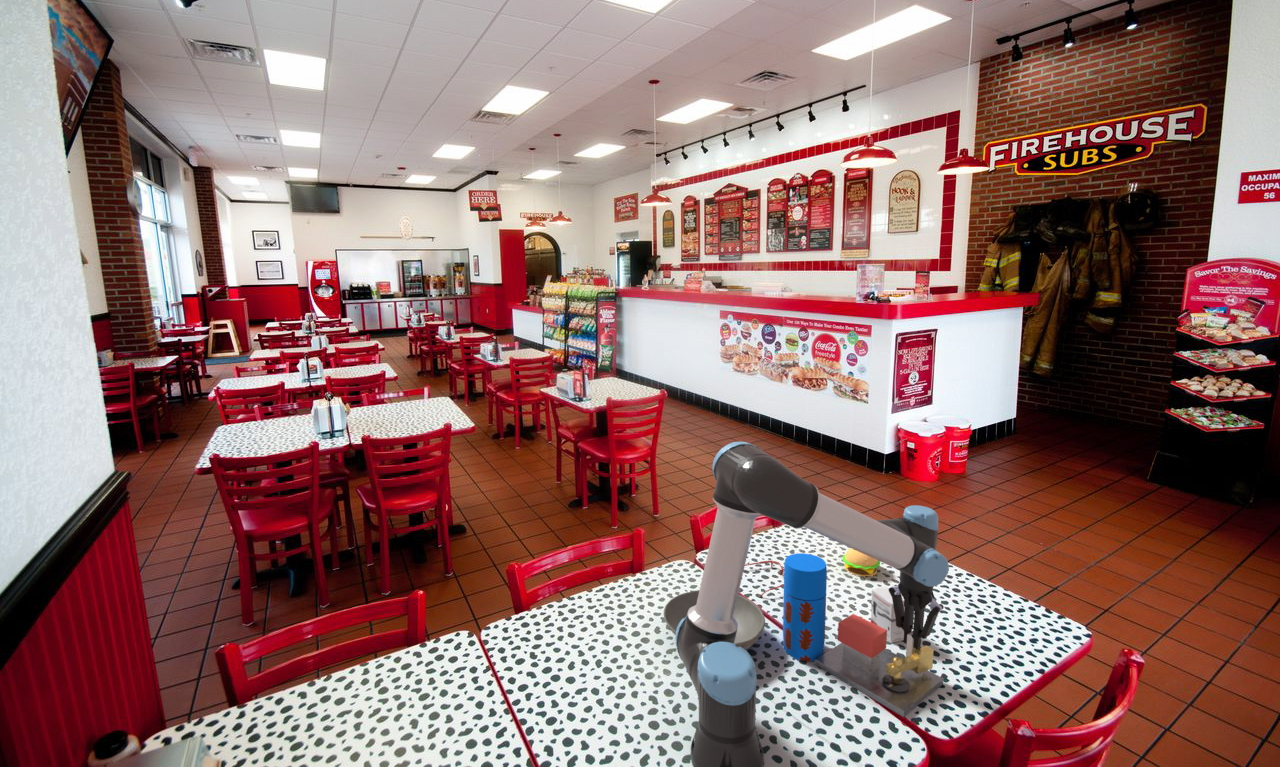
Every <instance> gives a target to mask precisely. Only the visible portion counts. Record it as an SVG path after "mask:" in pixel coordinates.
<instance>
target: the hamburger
mask: <svg viewBox="0 0 1280 767" xmlns="http://www.w3.org/2000/svg"><path fill="white" fill-rule="evenodd" d="M842 561H843V562H844V567H845V568H844V569H845V570H846V571H847V572H848V571H849V572H848V573H849V574H851V573H852V575H854V574H855V575H854V576H856V575H859V576H858V577H861V576H864V577H863V578H866V577H865V576H871V577H874V576H876V575H877V573H878V569H877V568H878V567H880V566H881V562H880V561H878V560H876V559H874V558H872V557H869V556H867V555H865V554H863V553H861V552H858V551H856V550H854V549H852V548H850V547H849V549H847V551H846V552H845V554H844V555H843V556H842ZM875 574H876V575H875ZM873 575H874V576H873Z"/></svg>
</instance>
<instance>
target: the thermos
mask: <svg viewBox="0 0 1280 767" xmlns="http://www.w3.org/2000/svg"><path fill="white" fill-rule="evenodd" d="M783 566H784V567H783V568H784V571H783V584H784V586H783V610H782V611H783V612H782V613H783V614H782V640H783V650H784V651H785V653H786V654H787V655H788V656H790V657H791V658H793V659H795V660H797V661H802V662H813V661H814V662H815V659H816V658H818V657H820V656H821V655H823V654H824V653H825V651H824V650H825V642H826V617H827V616H826V613H827V612H826V610H827V584H828V583H827V582H828V581H827V580H828V569H827V562H826V561H825V560H824V559H823V558H821V557H820V556H818V555H814V554H812V553H804V552H803V553H801V552H800V553H799V552H797V553H792V554H790V555H788V556H786V557H785V558H784V564H783Z"/></svg>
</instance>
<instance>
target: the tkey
mask: <svg viewBox="0 0 1280 767" xmlns="http://www.w3.org/2000/svg"><path fill="white" fill-rule="evenodd" d="M934 651H935V650H934V649H933V648H932V647H930V646H928V645H924V646H922V647H921V646H920V648H918V649H915V650H913V651H912V655H910V656H907V657H906V656H904V657H902V659H900V658H899V657H894V658H893V659H892V662H891V663H888V664H886V672H887V673H888V674H889V675H891V676H892V679H891V680H892V682H893V683H896V684H899V683H900V682H901V673H902V672H904V671H907V670H910V669H911V670H913V671H914V672H915V673H917V674H919V673H922V672H924V671H927V670H928V671H930V670H932V669H933V664H934Z"/></svg>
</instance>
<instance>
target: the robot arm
mask: <svg viewBox="0 0 1280 767" xmlns="http://www.w3.org/2000/svg"><path fill="white" fill-rule="evenodd" d="M712 474H713V478H714V479H715V481H716V482H715V487H714V490H713V495H712V501H713V502H714V504H715V505H716V507H717V510H716V513H715V519H714V523H713V528H712V532H711V536H710V541H709V546H708V551H707V555H706V560H705V564H704V568H703V573H702V577H701V580H700V586H699V595H698V599H697V604H696V605H695V606H693V607H691V608H690V609H689V610H688V613H687V615H686V617H685V618H683V619H682V620H681V621H680V623H679V625H678V627H677V630H676V635H675V634H674V636H675V639H674V641H675V645H676V651H677V654H678V656H679V658H680V660H681V661H682V663H683V665H684V667H685V670H686V672H687V674H688V676H689V679H690V680H691V682H692V684H693V687H694V689H695V691H696V694H697V698H698V724H697V727H696V730H695V732H694V735H693V738H692V741H691V744H690V761H691V765H692V767H764V757H765V756H764V750H763V746H762V744H761V741H760V738H759V735H758V731H757V729H756V710H757V709H756V704H757V702H756V701H757V700H756V699H757V684H758V682H757V680H758V678H757V677H758V676H757V672H756V665H755V662H754V659H753V657H752V656H751V654H750V653H749V652H748V651H747V649H746V650H745V649H743V648H742V647H736V644H734V641H735V637H736V632H737V628H738V623H737V621H736V620H735V618H734V617H733V614H734V610H735V606H736V601H737V597H738V595H739V592H740V588H741V583H742V579H743V575H744V570H745V565H746V562H747V557H748V552H749V550H750V549H749V548H750V545H751V540H752V535H753V531H754V527H755V523H756V519H757V517H759V516H761V515H762V516H764V517H766V518H770V519H772V520H775V521H777V522H779V523H782V524H785V525H787V526H789V527H792V528H794V529H797V530H798V529H802V528H805V529H808V530H811V531H813V532H814V533H817V534H819V535H822V536H823V537H825V538H828V539H830V540H832V541H835V542H837V543H838V544H841V545H843V546H845V547H847V548H849V549H850V548H852V549H854V550H856V551H858V552H861V553H863V554H865V555H867V556H869V557H872V558H874V559H876V560H878V561H880V563H883V564H884V565H887V566H889V567H892V568H894V569H896V570H897V571H899V583H898V584H897V585H896V584H894V585H892V586H890V587H888V588H889V592H890V594H891V596H892V600H893V606H894V612H895V618H896V624H897V626H898V627H899V628H900V627H901V628H902V629H903V631H904V640H903V643H904V644H905V645H906V648H905V650H906V651H905V657H907V656H910V655H912V651H913V650H915V649H918V648H921V646H922V639H923V640H924V639H926V638H928V637H929V636H930V635H931V633H932V630H933V628H934V626H935V623H936V621H937V618H938V616H939V613H940V612H941V611H943V609H945V608H944V606H945V605H944V604H942V603H938V601H937V600H936V599H935V595H934V592H933V591H934V587H937V586H938V585H940V584H942V583H943V582H944V581H945V580H946V577H947V576H948V574H949V571H950V565H949V562H948V559H947V558H946V556H944V555H943V554H942V553H940V552H939V551H938V550H937V548H938V546H937V545H938V537H939V536H938V535H939V530H940V529H939V515H938V513H937V512H936V511H935V510H934V509H933V508H930V507H928V506H923V505H917V504H916V505H909V506H906V507H905V508H904V511H903V514H902V517H898V518H889V519H879V520H878V519H877V520H876V519H874V518H872V517H871V516H868V515H866V514H863V513H861V512H860V511H857V510H855V509H853V508H851V507H850V506H847V505H845V504H844V503H841V502H839V501H837V500H835V499H833V498H831V497H828V496H826V495H824V494H823V493H820V491H819V488H818V487H817V485H815V484H813V483H811V482H809V481H807V480H806V479H803V478H802V477H800V476H799V475H798V474H796V473H795V472H794V471H792V470H791V469H790V468H788V467H787V466H786V465H785V464H783V463H782V462H781V461H780V460H778V459H776V458H775V457H773V456H771V455H770V454H768V453H767V452H766V451H764V450H763V449H762V448H760V447H759V446H758V445H755V444H752V443H750V442H746V441H735V442H734V441H733V442H730V443H727V444H726V445H725V446H723V447H721V449H720V450H718V452H717V453H716V455H715V456H714V458H713V462H712ZM902 598H904V606H903V601H902ZM929 604H930V606H929V610H930V611H929V612H928V613H927V617H926V620H925V610H926V608H927V606H928V605H929ZM904 607H905V612H904ZM924 621H925V623H924Z"/></svg>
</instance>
